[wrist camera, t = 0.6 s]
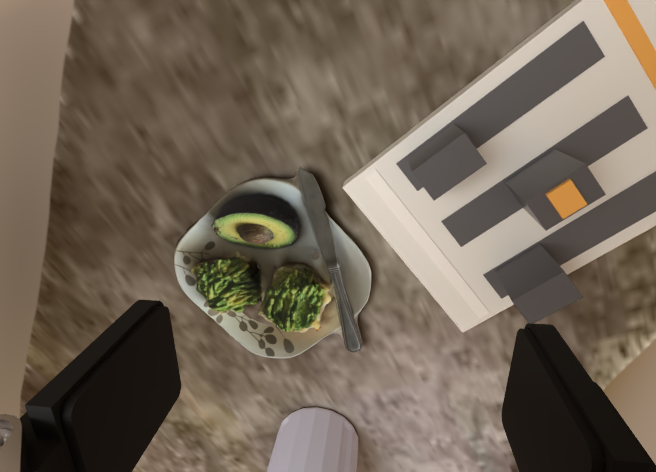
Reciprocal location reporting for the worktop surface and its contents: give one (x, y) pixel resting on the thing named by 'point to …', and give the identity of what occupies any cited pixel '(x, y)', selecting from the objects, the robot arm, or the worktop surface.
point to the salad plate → (275, 267)
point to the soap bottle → (315, 443)
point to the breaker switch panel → (524, 165)
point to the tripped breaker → (555, 188)
